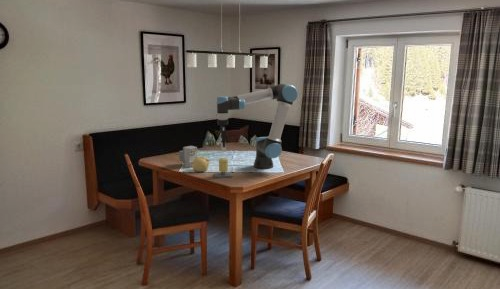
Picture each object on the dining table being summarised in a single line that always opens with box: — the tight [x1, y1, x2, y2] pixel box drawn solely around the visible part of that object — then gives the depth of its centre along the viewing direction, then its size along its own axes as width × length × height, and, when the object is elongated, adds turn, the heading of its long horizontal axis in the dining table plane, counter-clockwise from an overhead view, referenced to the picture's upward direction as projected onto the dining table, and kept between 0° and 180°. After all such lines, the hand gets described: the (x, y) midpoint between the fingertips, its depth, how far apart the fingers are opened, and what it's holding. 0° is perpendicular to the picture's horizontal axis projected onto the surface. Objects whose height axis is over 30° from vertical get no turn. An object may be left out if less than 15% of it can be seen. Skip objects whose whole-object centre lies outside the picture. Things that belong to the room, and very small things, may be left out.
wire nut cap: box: [218, 157, 229, 172], centre depth 270 cm, size 6×6×8 cm
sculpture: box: [192, 156, 210, 173], centre depth 282 cm, size 12×12×11 cm
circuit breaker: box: [178, 145, 198, 169], centre depth 296 cm, size 8×14×15 cm, turn 51°
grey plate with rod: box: [214, 171, 233, 179], centre depth 270 cm, size 12×10×10 cm
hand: (223, 149), depth 268 cm, fingers open, 13 cm apart
